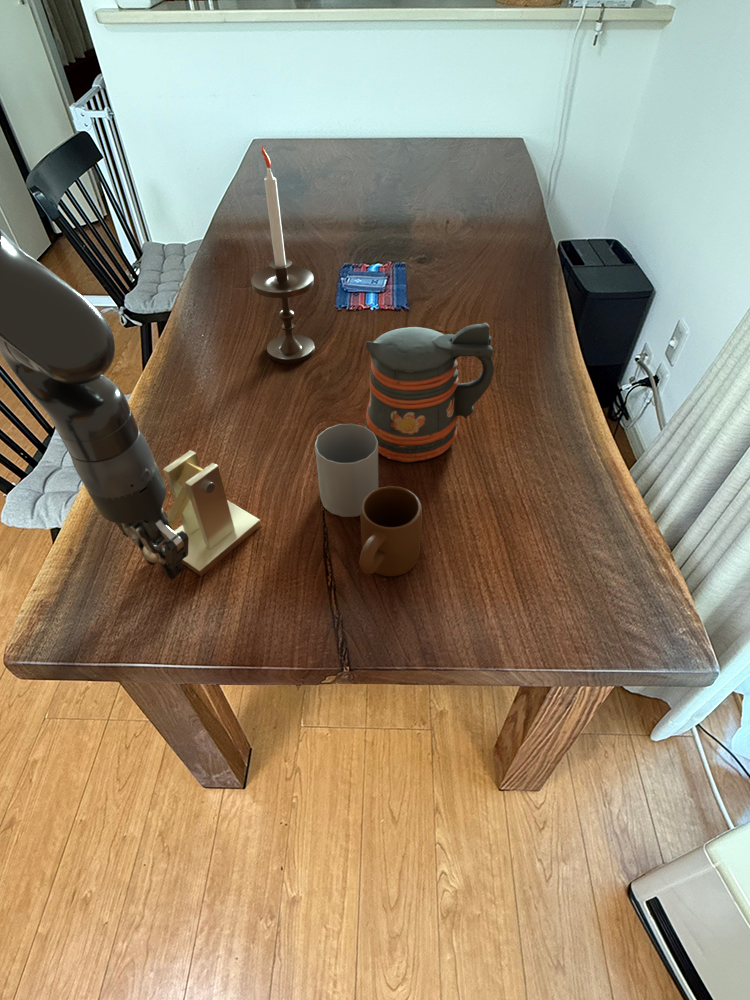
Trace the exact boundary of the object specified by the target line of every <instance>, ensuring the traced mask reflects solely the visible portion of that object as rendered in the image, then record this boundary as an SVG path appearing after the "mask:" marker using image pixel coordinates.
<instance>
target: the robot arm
mask: <svg viewBox="0 0 750 1000" xmlns="http://www.w3.org/2000/svg"><path fill="white" fill-rule="evenodd" d="M115 354H116V341H115V335H114V333H113V329H112V328H111V326H110V324H109V322H108V320H107V319H106V318H105V316H104V315H103V314H102V313H101V311H100V310H99V309H98V308H97V307H96V306H95V305H94V304H93V303H92V302H91V301H89V299H87V298H86V297H85V296H83V294H82V293H80V292H79V291H77V290H76V289H75V288H73V287H72V286H71V285H70V284H68V283H67V282H66V281H64V280H63V279H62V278H61V277H59V276H58V275H57V274H55V273H54V272H53V271H52V270H50V269H49V268H47V267H46V266H45V265H43V264H42V263H41V262H39V261H37V260H36V259H35V258H33V257H32V256H31V255H29V254H28V253H26V252H25V251H24V250H23V249H21V247H19V246H18V245H17V244H16V243H15V242H14V241H13V240H12V239H11V238H10V237H9V236H8V235H7V234H6V233H5V232H4V230H2V229H1V228H0V355H1V357H2V359H3V360H4V362H5V363H6V364H7V366H8V367H9V369H10V370H11V371H12V373H13V374H14V375H15V377H16V378H18V380H19V382H20V383H21V384H22V385H23V386H24V388H25V389H26V391H28V393H29V394H30V395H31V396H32V397H33V398H34V400H35V401H36V402H37V403H38V404H39V405H40V407H41V408H42V409H43V410H44V412H45V413H46V414H47V415H48V417H49V418H50V420H51V421H52V424H53V426H54V428H55V430H56V432H57V434H58V435H59V437H60V439H61V441H62V443H63V444H64V447H65V448H66V450H67V452H68V454H69V456H70V459H71V461H72V464H73V467H74V469H75V472H76V473H77V475H78V477H79V479H80V481H81V483H82V484H83V486H84V488H85V490H86V492H87V493H88V495H89V497H90V499H91V500H92V502H93V505H95V507H96V509H97V511H98V513H99V514H100V516H101V517H102V518H103V519H105V520H107V521H109V522H111V523H115V524H116V526H117V527H118V528H119V530H120V531H121V533H122V535H123V536H125V537H126V538H130V539H131V541H132V543H133V545H134V546H136V547H137V548H138V549H139V550H140V553H141V554H142V556H143V558H144V560H145V562H146V563H147V564H148V565H150V566H154V565H156V563H152V562H150V561H148V560H147V559H146V558H145V557H144V555H143V546H145V547H146V549H147V550H148V551H150V552H152V553H154V554H155V555H156V557H157V559H158V561H159V562H160V563H159V564H160V566H161V569H162V570H163V572H164V575H165V577H166V578H167V579H169V580H172V581H173V580H175V579H176V578H177V577H178V576H179V575H180V574H182V573H183V572H184V569H185V568H184V564H182V563H181V560H183V559H184V558H185V557H187V556H188V543H189V538H188V536H187V534H186V533H185V532H183V531H180V532H179V533H177V534H176V533H174V531H175V530H172V528H171V526H170V524H169V521H168V519H167V516H168V514H167V513H166V511H165V509H163V505H164V502H165V500H166V497H167V487H166V483H165V481H164V479H163V476H162V474H161V472H160V469H159V467H158V464H157V462H156V460H155V458H154V455H153V452H152V449H151V448H150V445H149V443H148V441H147V439H146V438H145V436H144V435H143V433H142V431H141V430H140V428H139V426H138V423H137V420H136V419H135V416H134V413H133V412H132V409H131V407H130V404H129V402H128V400H127V398H126V395H125V394H124V392H123V391H122V389H121V388H120V387H119V386H118V385H117V384H116V383H115V382H114V381H112V380H111V379H109V378H108V377H107V376H106V375H105V374H106V373H107V372H108V371H109V369H110V367H111V366H112V364H113V362H114V359H115ZM152 541H153V542H152ZM162 548H164V549H165V551H164V552H163V553H162V552H161V549H162Z"/></svg>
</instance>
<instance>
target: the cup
mask: <svg viewBox="0 0 750 1000" xmlns="http://www.w3.org/2000/svg"><path fill="white" fill-rule="evenodd" d="M314 451H315V458H316V459H315V460H316V461H315V462H316V468H317V469H316V470H317V479H318V487H319V488H318V489H319V498H320V501H321V505H322V507H323V508H325V510H327V512H329V513H330V514H331V515H336V516H339V517H342V518H355V517H359V516H361V505H362V502H363V500H364V498H365V497H366V496H367V495H368V494H369V493H370V492H371V491H373V490H375V489H377V488H379V453H378V441H377V438H376V436H375V434H374V433H373V432H372V431H370V430H369V429H367V428H366V427H365V426H363V425H360V424H356V423H339V424H336V425H332V426H330V427H326V428H325V429H324V430H323V431H322V432H321V433H319V434H318V435H317V436H316V440H315V442H314Z"/></svg>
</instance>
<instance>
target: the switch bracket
mask: <svg viewBox="0 0 750 1000" xmlns="http://www.w3.org/2000/svg"><path fill="white" fill-rule="evenodd" d="M186 463H190V464H193V465H195V466H198V467H200V468H201V466H200V462H199V458H198V455H197V453H196V452H195V451H194V450H192V449H190V450H188V451H187V452H186V453H184V454H183V455H181V456H180V457H178V458H176V459H175V460H173V462H171V463H170V464H168V465H167V466H165V467H164V468H163V469H162V471H163V475H164V476H165V480H166V481H167V484H168V488H169V490H170V493H171V497H172V499H173V503H174V502H175V500H176V498H177V497H178V495H179V493H180V491H181V489H182V487H183V486H181V485H180V484H178V483H177V481H178V479H179V477H180V475H181V473H182V471H183V469H184V467H185V465H186ZM202 469H203V470H202V471H200V472H199V473H198V474H196V475H195V476H194V477H192V478H191V479H189V480H188V481H187V482H185V484H186V487H187V490H188V493H189V496H190V500H189V502H188V504H187V505H186V507H185V509H184V511H183V513H182V515H181V517H180V519H179V520H180V521H181V525H180V526H178V527H177V528H176V529H174V530H173V531H174V533H176V534H177V533H179V532H180V531H183V532H185V533H186V534H187V536H188V538H189V543H188V556H187V557H185V558H184V559H183V560H181V563H182V565H183V566H185V567H187V568H188V569H189V570H191V571H192V572H194V573H195V574H197V575H198V576H199V577H202V576H204V574H206V573H207V572H209V571H210V570H211V569H212V568H213V567H214V566H216V565H217V564H218V563H219V562H220V561H222V560H223V559H224V558H225V557H227V556H228V554H230V553H231V552H232V551H233V550H235V549H236V548H237V547H238V546H240V544H241V543H243V542H244V541H245V540H246V539H247V538H249V537H250V536H252V534H254V532H255V531H257V530H258V529H259V528H260V527H262V523H261V519H259V518H258V517H256V516H254V515H253V514H251V513H250V512H248V511H246V510H244V509H242V508H241V507H239V506H237V505H236V504H234V503H232V502H231V501H229V500H228V498H227V494H226V490H225V487H224V483H223V479H222V474H221V472H220V467H219V465H218V464H216V463H214V462H211V463H210V464H209V465H207V466H206V467H205V468H202Z"/></svg>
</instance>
